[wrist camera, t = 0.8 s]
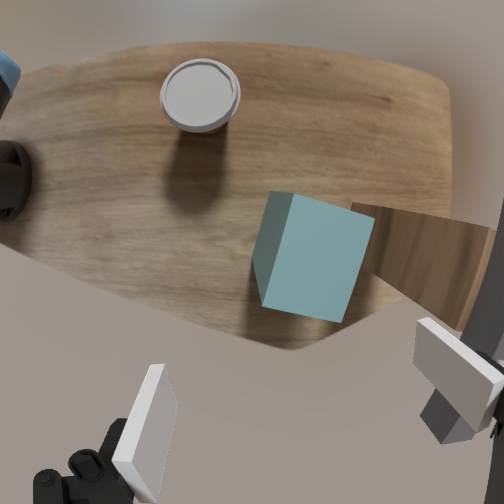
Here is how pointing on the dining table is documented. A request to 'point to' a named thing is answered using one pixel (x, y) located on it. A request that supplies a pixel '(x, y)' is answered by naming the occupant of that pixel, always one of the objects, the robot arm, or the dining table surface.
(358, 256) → the teal block
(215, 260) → the dining table surface
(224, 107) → the disposable coffee cup
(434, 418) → the power strip
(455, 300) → the walnut stand
